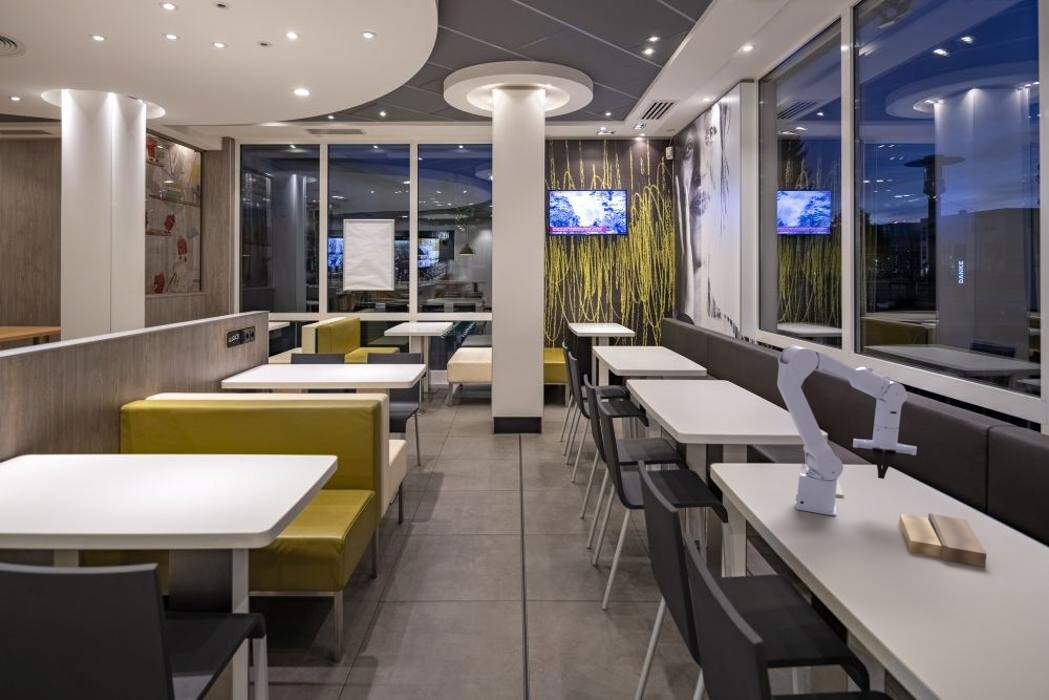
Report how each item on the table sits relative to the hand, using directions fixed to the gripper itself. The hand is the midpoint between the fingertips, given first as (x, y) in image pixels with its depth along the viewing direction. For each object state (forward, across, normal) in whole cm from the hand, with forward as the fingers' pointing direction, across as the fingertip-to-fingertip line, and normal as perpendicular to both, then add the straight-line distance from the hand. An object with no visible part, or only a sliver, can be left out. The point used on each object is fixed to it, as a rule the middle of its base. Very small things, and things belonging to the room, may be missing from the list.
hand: (880, 477), depth 177 cm
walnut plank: (+9, +15, -16) cm, 24 cm away
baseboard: (+10, -14, +24) cm, 29 cm away
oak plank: (+10, +8, -16) cm, 21 cm away
